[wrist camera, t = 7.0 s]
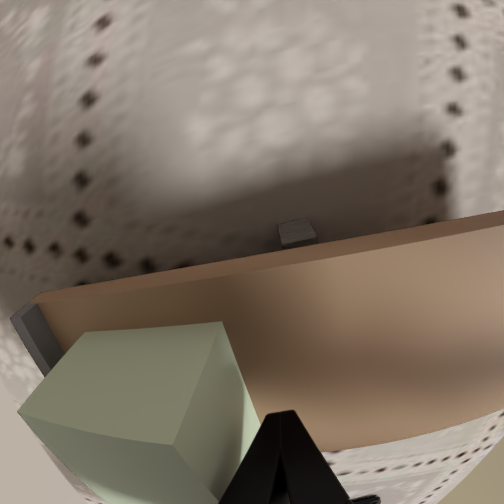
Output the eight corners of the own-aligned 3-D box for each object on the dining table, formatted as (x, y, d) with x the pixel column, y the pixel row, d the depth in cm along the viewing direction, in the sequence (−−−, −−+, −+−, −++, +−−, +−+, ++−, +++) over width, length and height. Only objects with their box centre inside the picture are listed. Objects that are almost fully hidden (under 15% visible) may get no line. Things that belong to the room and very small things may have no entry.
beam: (540, 373, 9) (557, 402, 7) (124, 429, 13) (109, 458, 11) (577, 196, 6) (613, 215, 4) (41, 292, 11) (9, 318, 9)
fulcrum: (335, 387, 13) (343, 419, 11) (313, 392, 13) (319, 424, 12) (307, 217, 11) (317, 236, 9) (277, 224, 11) (281, 244, 9)
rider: (263, 432, 10) (246, 530, 6) (144, 427, 11) (108, 503, 8) (222, 321, 8) (173, 444, 5) (85, 331, 9) (17, 411, 6)
